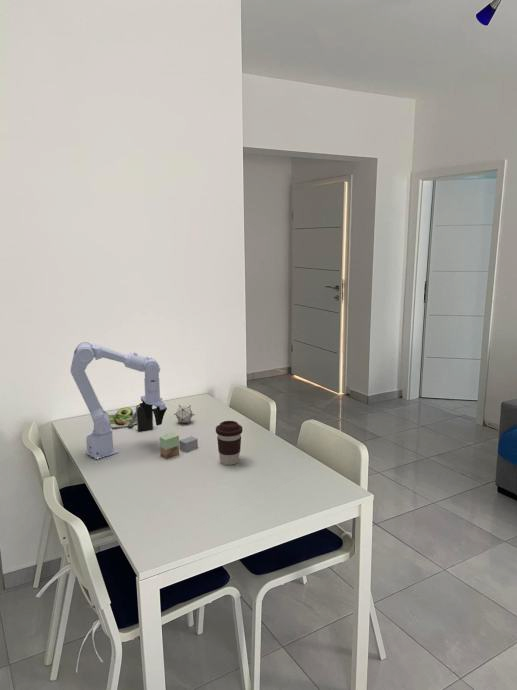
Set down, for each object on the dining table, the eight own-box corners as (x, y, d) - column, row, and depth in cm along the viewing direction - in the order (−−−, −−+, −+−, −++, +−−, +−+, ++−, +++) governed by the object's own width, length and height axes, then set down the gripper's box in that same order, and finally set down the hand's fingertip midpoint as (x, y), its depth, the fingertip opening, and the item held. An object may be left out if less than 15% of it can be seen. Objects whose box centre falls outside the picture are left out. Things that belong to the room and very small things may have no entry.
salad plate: (148, 426, 234) (148, 416, 233) (108, 434, 226) (107, 423, 225) (137, 413, 251) (136, 404, 250) (98, 419, 243) (98, 410, 242)
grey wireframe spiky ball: (180, 430, 239) (170, 411, 240) (197, 421, 241) (186, 402, 243) (181, 427, 230) (170, 407, 232) (198, 418, 233) (188, 398, 235)
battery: (151, 426, 233) (150, 402, 231) (153, 429, 230) (152, 404, 227) (135, 429, 230) (134, 404, 228) (137, 432, 227) (136, 406, 224)
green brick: (165, 449, 199) (165, 439, 199) (160, 446, 202) (159, 436, 201) (179, 445, 203) (178, 435, 203) (173, 442, 206) (172, 432, 205)
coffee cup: (239, 468, 193) (238, 429, 190) (213, 465, 195) (212, 427, 192) (245, 456, 203) (245, 419, 199) (220, 454, 204) (219, 418, 201)
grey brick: (185, 452, 206) (185, 443, 206) (179, 449, 209) (179, 440, 208) (197, 448, 211) (197, 438, 210) (191, 445, 213) (191, 436, 213)
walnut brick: (166, 459, 200) (166, 449, 199) (160, 456, 203) (160, 446, 202) (179, 454, 204) (179, 445, 204) (173, 451, 207) (172, 442, 206)
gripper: (171, 391, 204) (172, 424, 207) (150, 383, 215) (152, 415, 218) (155, 395, 200) (157, 429, 203) (135, 387, 210) (137, 419, 213)
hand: (153, 422), depth 210 cm, fingers open, 7 cm apart
